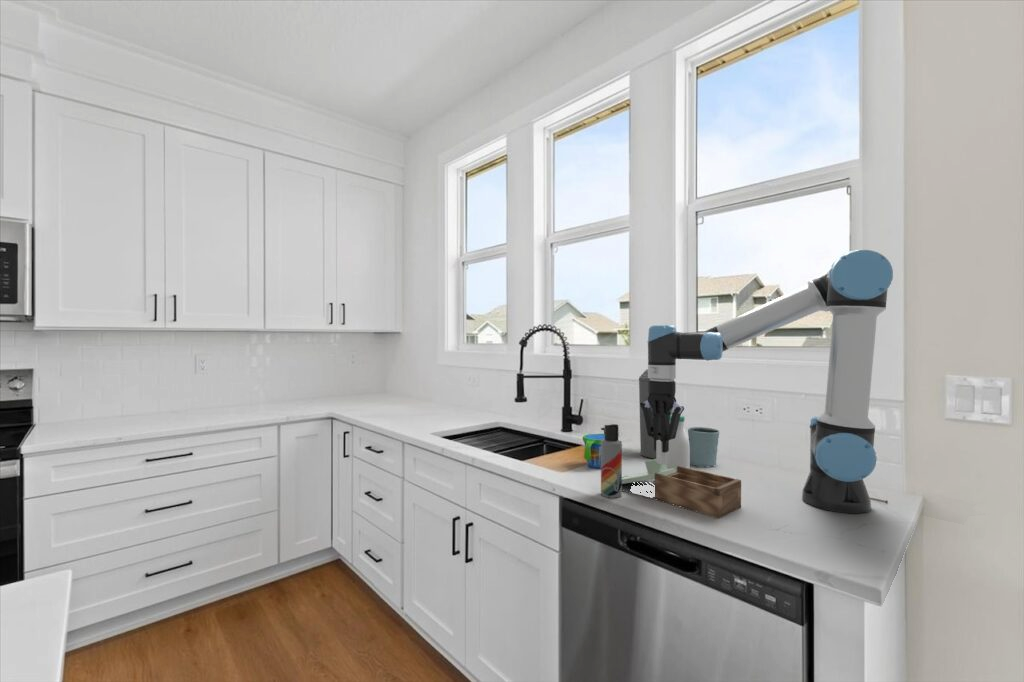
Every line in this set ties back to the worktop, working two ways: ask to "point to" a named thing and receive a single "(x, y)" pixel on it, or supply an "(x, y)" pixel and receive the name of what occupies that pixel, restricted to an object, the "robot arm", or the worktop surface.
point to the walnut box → (699, 491)
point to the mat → (628, 485)
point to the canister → (645, 440)
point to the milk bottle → (678, 448)
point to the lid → (649, 472)
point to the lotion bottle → (611, 463)
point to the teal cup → (703, 446)
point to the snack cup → (593, 449)
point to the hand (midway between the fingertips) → (661, 462)
